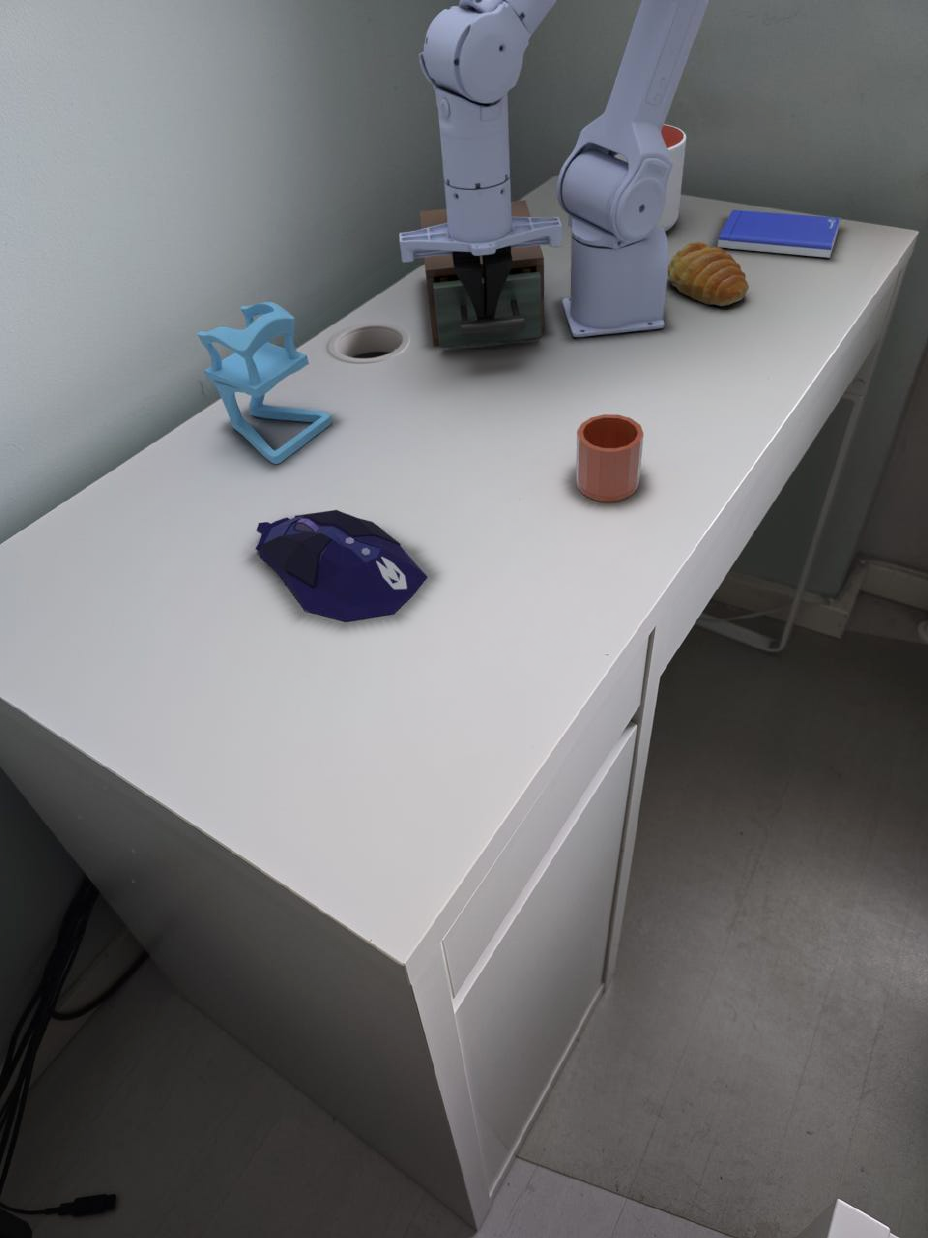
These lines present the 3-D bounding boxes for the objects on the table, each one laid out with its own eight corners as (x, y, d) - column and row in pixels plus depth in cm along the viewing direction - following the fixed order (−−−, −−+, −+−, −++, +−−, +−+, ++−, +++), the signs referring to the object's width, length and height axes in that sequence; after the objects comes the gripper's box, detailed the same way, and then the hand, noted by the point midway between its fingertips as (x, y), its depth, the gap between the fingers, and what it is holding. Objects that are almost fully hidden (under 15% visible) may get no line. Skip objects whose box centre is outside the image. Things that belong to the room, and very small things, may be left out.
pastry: (763, 299, 92) (769, 263, 89) (710, 317, 91) (714, 281, 88) (708, 266, 98) (713, 232, 96) (658, 282, 97) (661, 248, 94)
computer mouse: (372, 640, 62) (363, 600, 59) (220, 574, 68) (205, 535, 65) (442, 562, 67) (437, 522, 65) (295, 507, 74) (285, 468, 71)
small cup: (631, 461, 75) (635, 410, 71) (644, 498, 71) (649, 447, 67) (572, 467, 75) (572, 417, 71) (582, 505, 71) (583, 454, 67)
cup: (674, 207, 110) (683, 120, 103) (680, 241, 103) (689, 150, 96) (594, 210, 111) (597, 124, 104) (595, 243, 105) (598, 154, 97)
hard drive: (841, 215, 101) (733, 207, 105) (832, 245, 96) (718, 235, 100) (838, 229, 102) (731, 220, 106) (829, 259, 97) (717, 248, 101)
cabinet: (544, 334, 91) (543, 257, 85) (433, 345, 91) (425, 269, 85) (527, 272, 101) (525, 199, 95) (427, 283, 101) (419, 211, 95)
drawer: (548, 361, 85) (548, 300, 80) (442, 373, 85) (436, 312, 80) (525, 278, 98) (523, 220, 93) (433, 287, 98) (427, 231, 93)
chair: (270, 399, 86) (239, 281, 77) (334, 422, 82) (308, 301, 73) (213, 439, 82) (173, 318, 73) (277, 465, 78) (243, 342, 69)
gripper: (393, 203, 72) (412, 353, 82) (568, 185, 72) (566, 337, 82) (392, 172, 77) (410, 317, 87) (555, 155, 77) (555, 302, 87)
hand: (485, 324), depth 85 cm, fingers closed
